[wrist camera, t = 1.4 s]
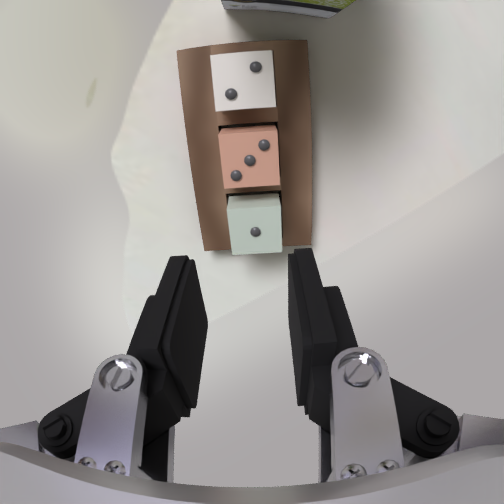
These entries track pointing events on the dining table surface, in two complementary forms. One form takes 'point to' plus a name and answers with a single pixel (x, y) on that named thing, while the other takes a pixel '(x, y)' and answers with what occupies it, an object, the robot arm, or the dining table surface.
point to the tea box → (292, 6)
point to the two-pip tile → (243, 80)
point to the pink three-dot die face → (249, 156)
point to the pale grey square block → (255, 224)
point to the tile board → (285, 114)
